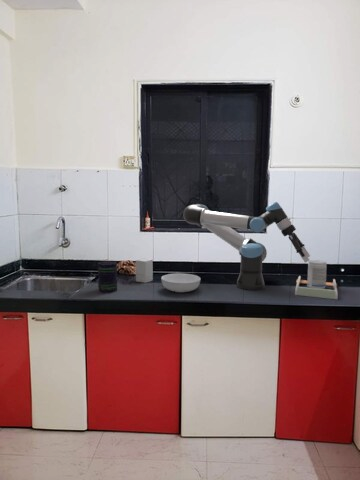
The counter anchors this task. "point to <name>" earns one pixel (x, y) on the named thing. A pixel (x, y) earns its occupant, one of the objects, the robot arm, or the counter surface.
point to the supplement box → (144, 270)
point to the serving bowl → (180, 282)
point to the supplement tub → (317, 274)
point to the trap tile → (307, 281)
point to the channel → (316, 291)
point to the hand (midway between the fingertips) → (307, 259)
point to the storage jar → (107, 276)
